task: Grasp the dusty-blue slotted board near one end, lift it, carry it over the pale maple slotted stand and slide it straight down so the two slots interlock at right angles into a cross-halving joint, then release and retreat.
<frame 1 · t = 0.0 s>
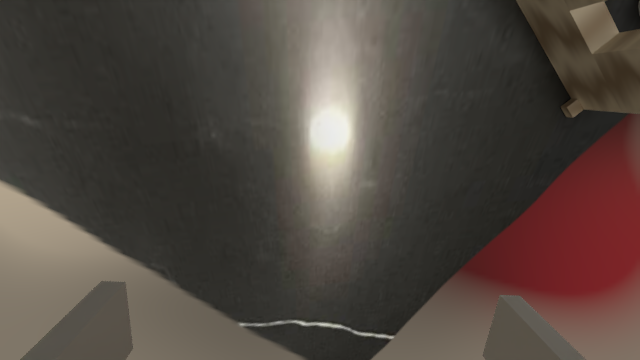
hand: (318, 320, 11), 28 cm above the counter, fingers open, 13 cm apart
slotted stand: (550, 31, 35), on the counter
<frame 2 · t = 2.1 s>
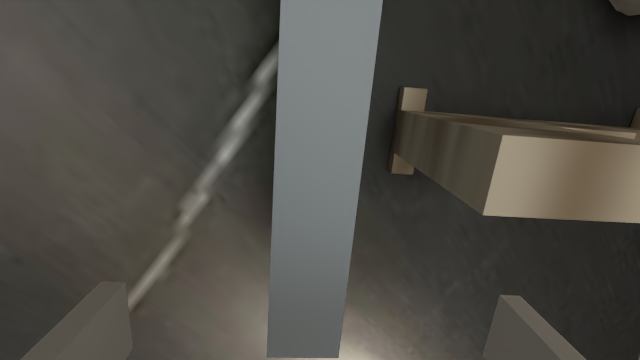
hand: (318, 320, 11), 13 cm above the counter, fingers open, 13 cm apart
slotted stand: (522, 139, 23), on the counter
slotted plate: (308, 113, 22), on the counter
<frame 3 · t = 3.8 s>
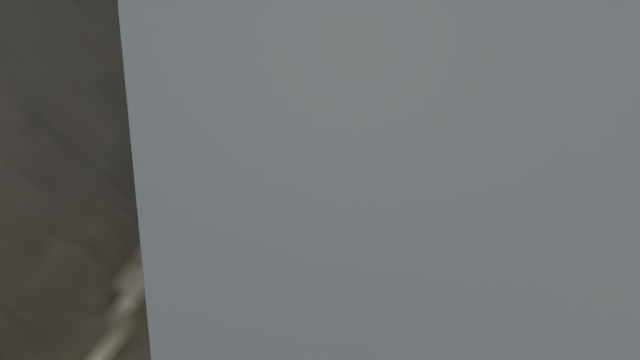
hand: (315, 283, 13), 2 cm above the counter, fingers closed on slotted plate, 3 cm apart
slotted plate: (324, 138, 13), on the counter, touching gripper
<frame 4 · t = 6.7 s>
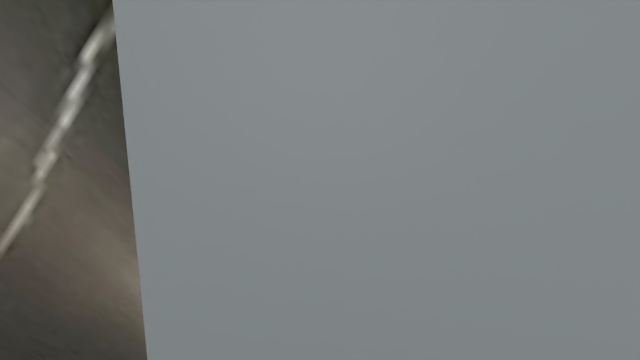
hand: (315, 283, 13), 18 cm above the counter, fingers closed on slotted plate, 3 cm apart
slotted plate: (325, 139, 13), point 17 cm above the counter, touching gripper
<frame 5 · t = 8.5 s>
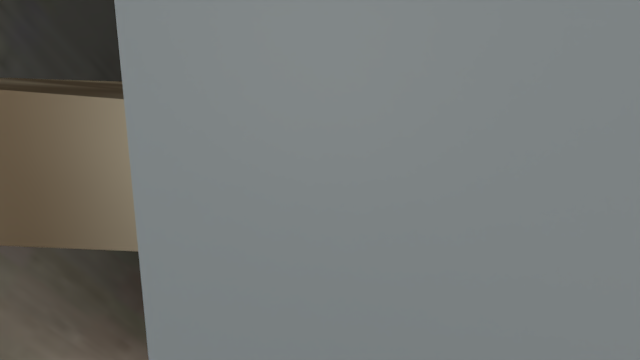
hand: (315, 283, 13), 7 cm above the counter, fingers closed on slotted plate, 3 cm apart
slotted stand: (319, 124, 18), on the counter
slotted plate: (325, 139, 13), point 5 cm above the counter, touching gripper
when the fingers open (3 cm above the counter, at t = 9.9 s): slotted plate stays where it is, on the counter.
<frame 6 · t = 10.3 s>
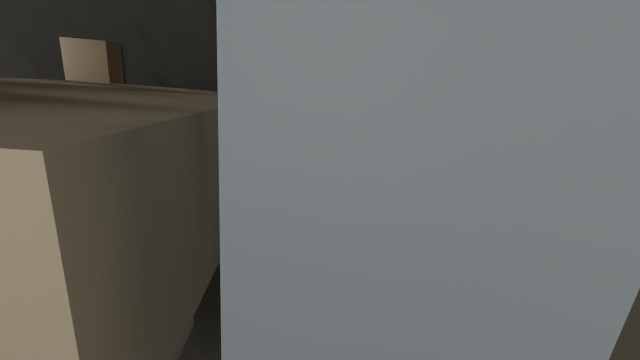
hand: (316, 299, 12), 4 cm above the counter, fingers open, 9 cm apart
slotted stand: (323, 134, 14), on the counter
slotted plate: (322, 137, 14), on the counter
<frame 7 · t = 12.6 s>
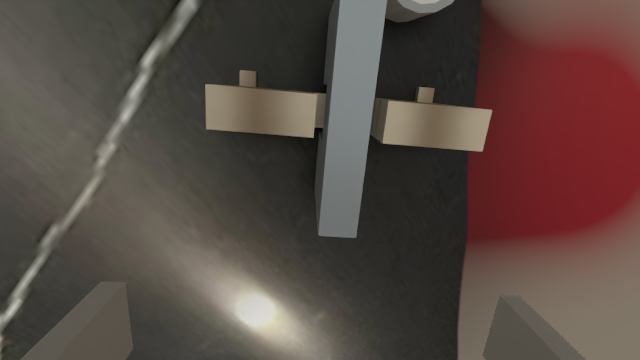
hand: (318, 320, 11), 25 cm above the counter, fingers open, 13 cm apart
slotted stand: (335, 108, 33), on the counter
slotted plate: (335, 110, 33), on the counter
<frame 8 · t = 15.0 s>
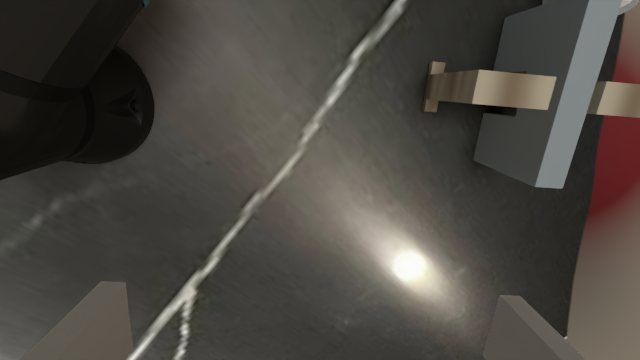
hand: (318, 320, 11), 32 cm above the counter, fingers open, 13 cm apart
slotted stand: (499, 93, 41), on the counter
slotted plate: (498, 94, 41), on the counter
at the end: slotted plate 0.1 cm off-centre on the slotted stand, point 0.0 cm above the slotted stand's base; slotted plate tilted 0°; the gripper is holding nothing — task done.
